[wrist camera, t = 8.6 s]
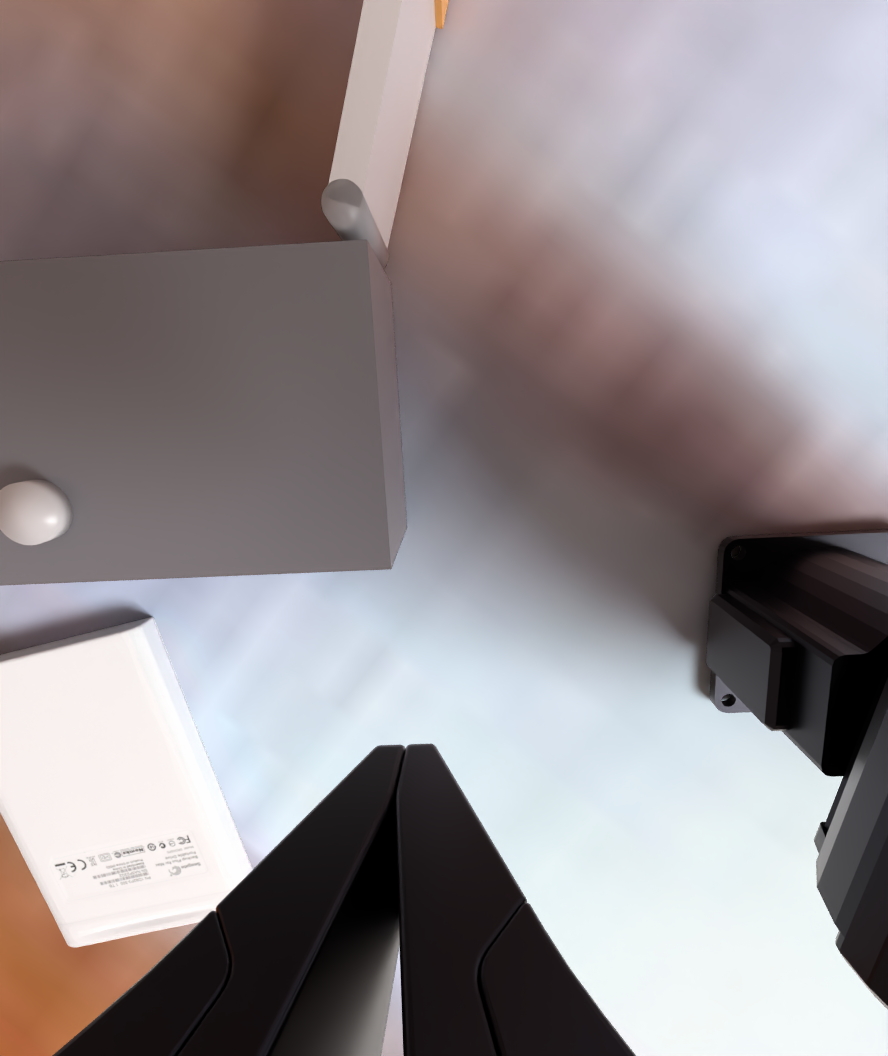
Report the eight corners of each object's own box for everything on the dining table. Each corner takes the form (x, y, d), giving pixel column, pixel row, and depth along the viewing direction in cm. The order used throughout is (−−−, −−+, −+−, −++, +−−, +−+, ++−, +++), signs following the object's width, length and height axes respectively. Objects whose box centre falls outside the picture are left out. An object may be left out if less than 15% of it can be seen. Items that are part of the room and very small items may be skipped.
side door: (387, 277, 18) (327, 167, 9) (350, 267, 18) (257, 149, 9) (452, -19, 16) (450, -476, 8) (412, -31, 16) (364, -503, 8)
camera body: (391, 283, 18) (362, 231, 12) (406, 527, 20) (388, 576, 14) (-24, 307, 18) (-227, 266, 13) (28, 544, 20) (-132, 597, 15)
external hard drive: (161, 611, 21) (265, 880, 24) (-36, 660, 22) (87, 917, 24) (137, 628, 20) (252, 914, 22) (-75, 680, 20) (61, 954, 23)
